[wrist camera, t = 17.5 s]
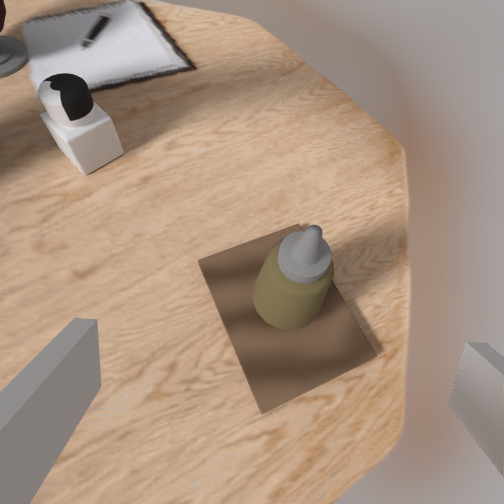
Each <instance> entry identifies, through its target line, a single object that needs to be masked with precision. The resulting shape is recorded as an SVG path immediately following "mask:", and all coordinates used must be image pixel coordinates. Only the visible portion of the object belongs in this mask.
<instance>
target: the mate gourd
mask: <svg viewBox="0 0 504 504" xmlns="http://www.w3.org/2000/svg"><path fill="white" fill-rule="evenodd" d="M5 15H6V9H5V5H4V1H3V0H0V32H1V31H2V29H3V26H4V21H5ZM27 57H28V53H27V50H26V48H25V46H24V45H23V43H21V42H20V41H19V40H17V39H15V38H12V37H8V36H0V78H3V77H6V76H8V75H11V74H13V73H14V72H16V71H18V70H19V69H20V68H21V67H22V66H23V65H24V64H25V62H26V60H27Z"/></svg>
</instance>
